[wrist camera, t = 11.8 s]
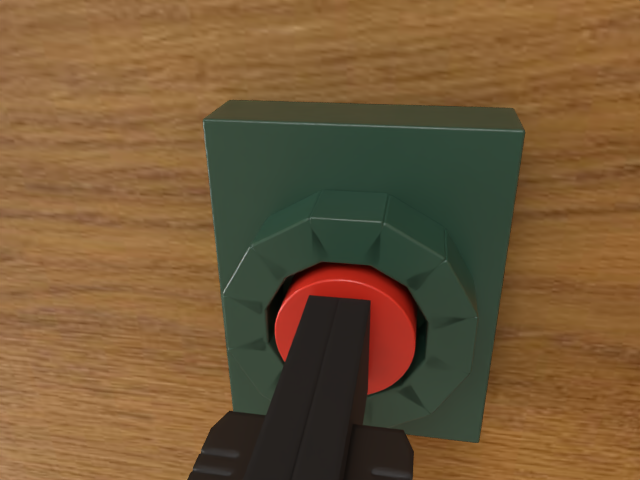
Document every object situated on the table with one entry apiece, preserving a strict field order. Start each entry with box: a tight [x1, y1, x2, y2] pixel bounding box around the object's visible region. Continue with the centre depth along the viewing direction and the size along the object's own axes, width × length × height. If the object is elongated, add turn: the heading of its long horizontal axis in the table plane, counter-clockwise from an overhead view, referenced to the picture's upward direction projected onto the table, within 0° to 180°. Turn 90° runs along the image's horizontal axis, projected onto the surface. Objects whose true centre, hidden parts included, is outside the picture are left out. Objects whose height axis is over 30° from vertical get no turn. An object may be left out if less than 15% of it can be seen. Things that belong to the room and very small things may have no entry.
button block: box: [203, 100, 525, 443], centre depth 17 cm, size 10×8×4 cm
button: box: [275, 262, 417, 395], centre depth 15 cm, size 4×4×2 cm
